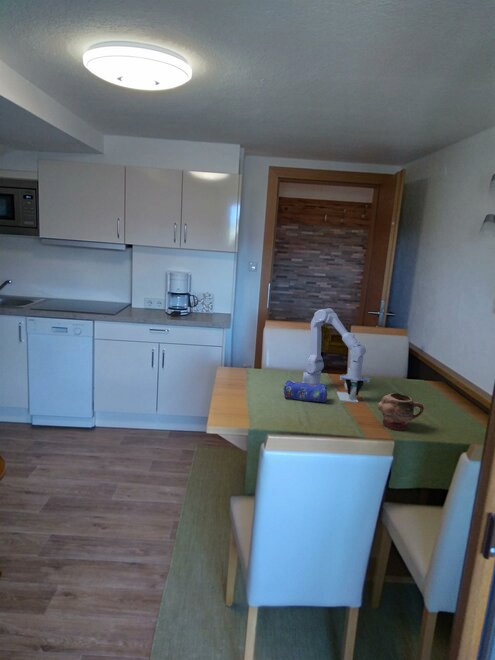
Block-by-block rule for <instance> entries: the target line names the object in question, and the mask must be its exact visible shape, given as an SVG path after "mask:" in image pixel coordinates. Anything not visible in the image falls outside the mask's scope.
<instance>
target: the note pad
mask: <svg viewBox="0 0 495 660" xmlns="http://www.w3.org/2000/svg"><path fill="white" fill-rule="evenodd" d="M336 395H337V397H338V399H339V401H340V402H345V403H346V402H347V403H357V404H358V403H359V400H358V397H356V399H355V400H351V399H349V395H348V391H347V392H346V391H338V390H337V391H336Z"/></svg>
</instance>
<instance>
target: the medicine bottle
mask: <svg viewBox="0 0 495 660" xmlns="http://www.w3.org/2000/svg"><path fill="white" fill-rule="evenodd" d="M349 373H350V366H349V367H348V369H347V373H345V375H349ZM351 382H357V381H351ZM344 388H345V390H346V391H348V389H347V384H346V381H345V380H344Z"/></svg>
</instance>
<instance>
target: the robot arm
mask: <svg viewBox="0 0 495 660" xmlns="http://www.w3.org/2000/svg"><path fill="white" fill-rule="evenodd" d="M324 324H330V325H332V326H333V327H334V328H335V330H336V331H337V332H338V333H339V335H340V336H341V341H342V342H343V343H344V344H345V346H346V347H347V348H348V349H349V354H350V356H351V359H350V366H349V367H350V373H349V375H346V374H345V375H339V380H340V381H344V382H345V381H346V384H347V389H348V390H347V392H348V395H350V388H351V381H357V383H358V385H357V392H356V396H359V392H360V391H361V388H362V387H364V384H365V382H366V383H370V379H371V378H370V377H366V376H362V369H363V362H364V355H365V354H366V352H367V349H366V347H365V345H363V344H362V343H360V342H359V341H358V339H357V338H356V337H355V336H356V335H355V334H354V333H351V332H349V331H348V330H347V329H346V327H345V326H344V325H343V323H342V321H341V320H340V319H339V317H338V315H337V313H336V312H335V311H334V310H333V309H332V308H330V307H328V308H323V309H318V310H317V311H316V312H314V316H313V318H311V321H310V341H309V342H310V344H309V347H310V348H309V351H310V355H309V357H307V361H306V365H305V370H306V371H303V374H302V381H301V383H307V384H321V376H322V375H321V374H322V370H324V368H325V364H324V361H323V356H322V354H321V351H322V350H321V349H322V348H321V347H322V346H321V345H322V344H321V343H322V326H323V325H324Z"/></svg>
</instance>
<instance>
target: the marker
mask: <svg viewBox="0 0 495 660" xmlns="http://www.w3.org/2000/svg"><path fill="white" fill-rule="evenodd" d="M357 385H358V383H357V382H351V388H350V395H349V399H351V400H355V399H356V398H357V395H356V392H357Z"/></svg>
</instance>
